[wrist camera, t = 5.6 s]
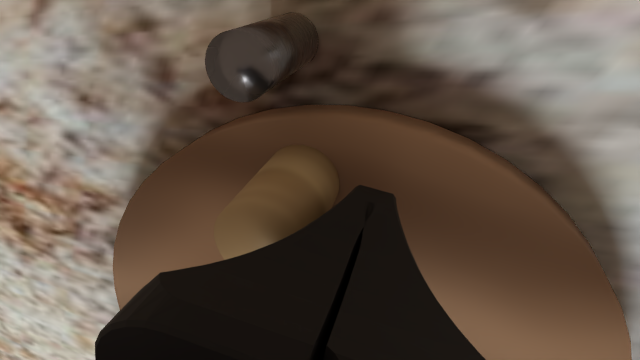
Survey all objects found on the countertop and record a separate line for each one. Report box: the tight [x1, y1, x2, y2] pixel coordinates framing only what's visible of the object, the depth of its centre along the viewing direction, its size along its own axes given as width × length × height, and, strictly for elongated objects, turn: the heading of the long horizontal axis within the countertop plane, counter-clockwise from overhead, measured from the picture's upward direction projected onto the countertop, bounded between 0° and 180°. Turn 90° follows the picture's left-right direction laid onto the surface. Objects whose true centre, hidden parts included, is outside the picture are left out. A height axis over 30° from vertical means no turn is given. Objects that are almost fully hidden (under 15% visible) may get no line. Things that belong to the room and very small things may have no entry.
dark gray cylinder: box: [205, 13, 318, 102], centre depth 15 cm, size 17×14×4 cm
